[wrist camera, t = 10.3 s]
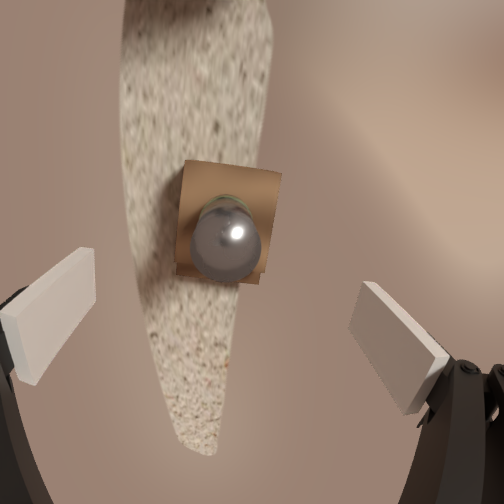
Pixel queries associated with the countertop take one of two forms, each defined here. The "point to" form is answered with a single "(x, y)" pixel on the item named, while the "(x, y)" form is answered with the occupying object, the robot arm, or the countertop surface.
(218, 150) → the countertop surface
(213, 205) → the column
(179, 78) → the countertop surface
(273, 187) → the step block
